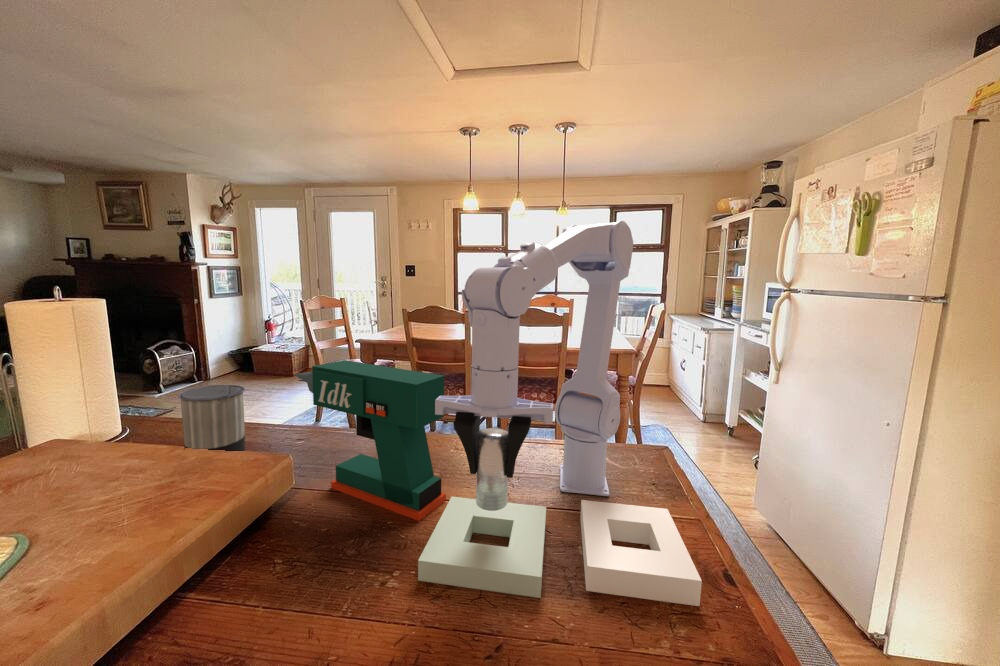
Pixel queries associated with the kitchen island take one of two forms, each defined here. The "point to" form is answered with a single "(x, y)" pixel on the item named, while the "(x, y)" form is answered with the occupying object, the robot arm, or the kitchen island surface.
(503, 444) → the steel peg
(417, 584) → the kitchen island surface
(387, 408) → the power tool
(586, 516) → the cream square-hole board
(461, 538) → the socket block
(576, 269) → the robot arm
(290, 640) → the kitchen island surface
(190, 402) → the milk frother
